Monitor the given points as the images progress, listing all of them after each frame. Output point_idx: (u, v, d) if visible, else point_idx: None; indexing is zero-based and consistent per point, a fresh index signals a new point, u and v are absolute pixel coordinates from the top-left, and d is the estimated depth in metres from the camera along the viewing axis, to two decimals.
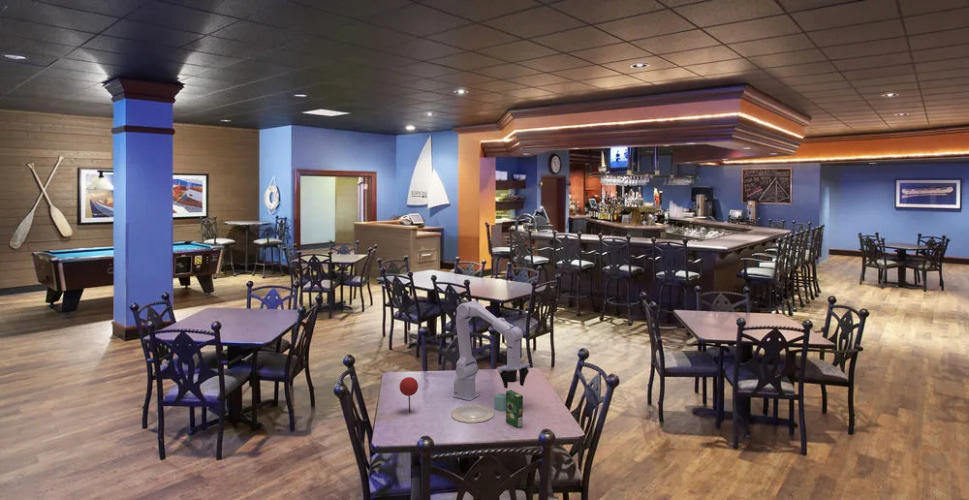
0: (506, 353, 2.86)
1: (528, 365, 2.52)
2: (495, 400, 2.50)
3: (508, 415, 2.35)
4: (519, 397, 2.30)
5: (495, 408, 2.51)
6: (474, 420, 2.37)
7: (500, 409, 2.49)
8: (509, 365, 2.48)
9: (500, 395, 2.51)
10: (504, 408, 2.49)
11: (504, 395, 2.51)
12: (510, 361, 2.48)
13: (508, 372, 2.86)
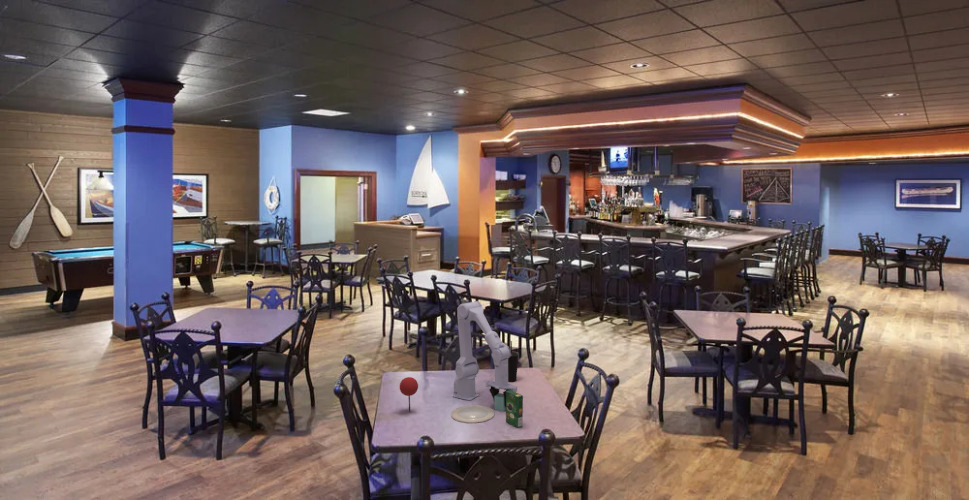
0: None
1: (513, 388, 2.46)
2: (495, 400, 2.50)
3: (508, 415, 2.35)
4: (519, 397, 2.30)
5: (495, 408, 2.51)
6: (474, 420, 2.37)
7: (500, 409, 2.49)
8: (494, 382, 2.51)
9: (500, 395, 2.51)
10: (504, 408, 2.49)
11: None
12: None
13: (508, 372, 2.86)
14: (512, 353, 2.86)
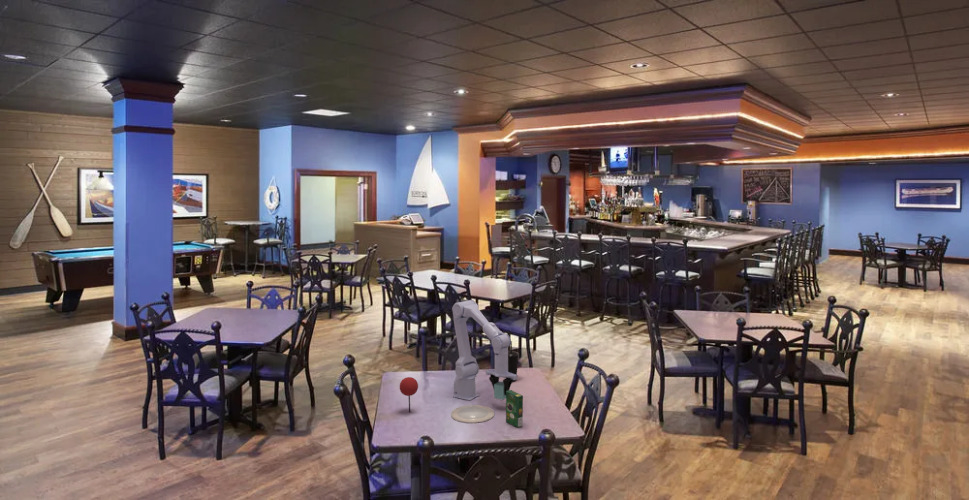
0: None
1: (513, 376, 2.46)
2: (495, 388, 2.50)
3: (508, 415, 2.35)
4: (519, 397, 2.30)
5: (495, 396, 2.50)
6: (474, 420, 2.37)
7: (500, 397, 2.49)
8: (494, 370, 2.51)
9: (500, 383, 2.51)
10: (504, 396, 2.49)
11: (503, 383, 2.51)
12: None
13: None
14: (512, 353, 2.86)
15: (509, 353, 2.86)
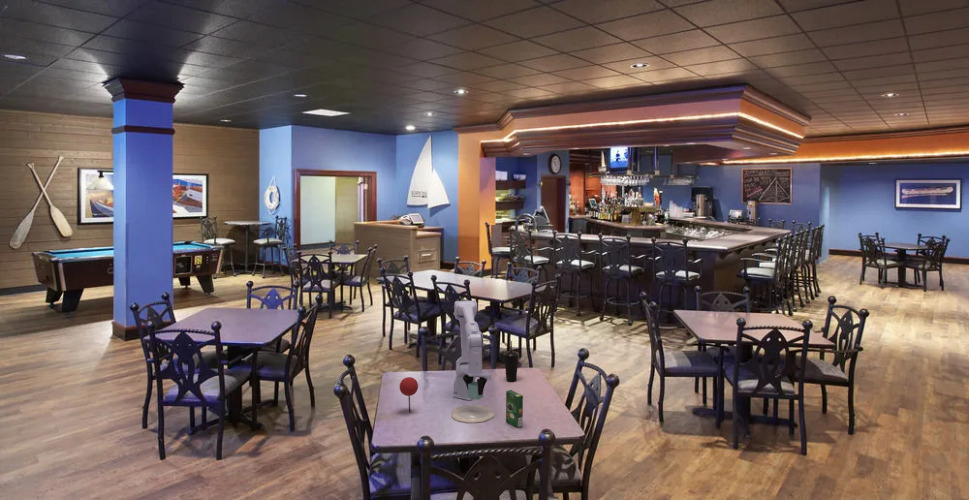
0: (506, 353, 2.86)
1: (487, 376, 2.40)
2: (469, 388, 2.44)
3: (508, 415, 2.35)
4: (519, 397, 2.30)
5: (469, 396, 2.44)
6: (474, 420, 2.37)
7: (474, 397, 2.43)
8: None
9: (474, 383, 2.45)
10: (478, 396, 2.43)
11: None
12: (468, 366, 2.44)
13: (508, 372, 2.86)
14: (512, 353, 2.86)
15: (509, 353, 2.86)
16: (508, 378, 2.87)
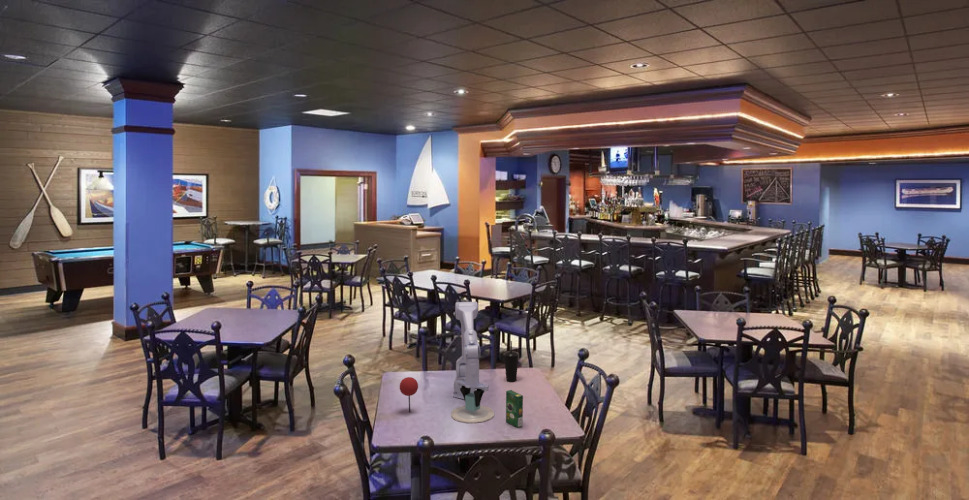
0: (506, 353, 2.86)
1: (484, 388, 2.40)
2: (466, 400, 2.44)
3: (508, 415, 2.35)
4: (519, 397, 2.30)
5: (466, 408, 2.44)
6: (474, 420, 2.37)
7: (471, 409, 2.43)
8: None
9: (472, 394, 2.45)
10: (475, 408, 2.43)
11: None
12: (465, 377, 2.44)
13: (508, 372, 2.86)
14: (512, 353, 2.86)
15: (509, 353, 2.86)
16: (508, 378, 2.87)
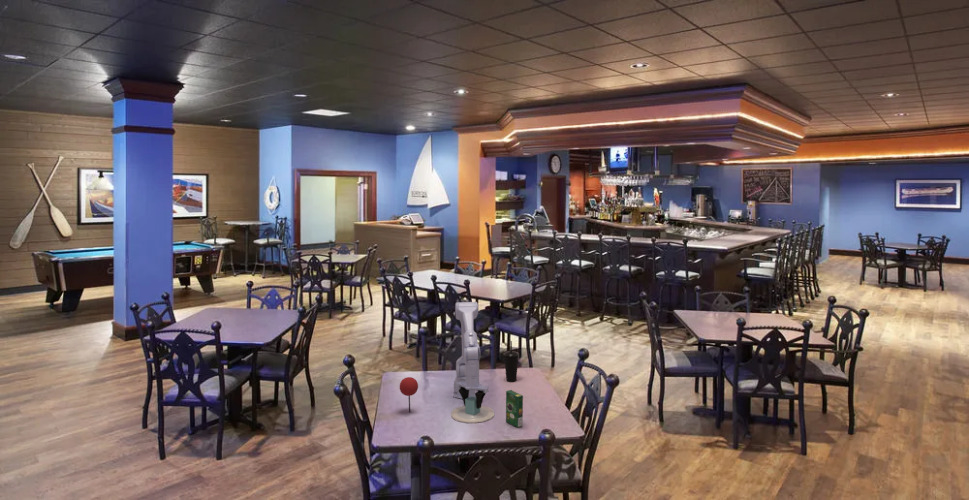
0: (506, 353, 2.86)
1: (484, 389, 2.40)
2: (466, 403, 2.44)
3: (508, 415, 2.35)
4: (519, 397, 2.30)
5: (466, 412, 2.44)
6: (474, 420, 2.37)
7: (471, 413, 2.43)
8: None
9: (472, 398, 2.45)
10: (475, 412, 2.43)
11: (475, 398, 2.45)
12: (465, 379, 2.44)
13: (508, 372, 2.86)
14: (512, 353, 2.86)
15: (509, 353, 2.86)
16: (508, 378, 2.87)
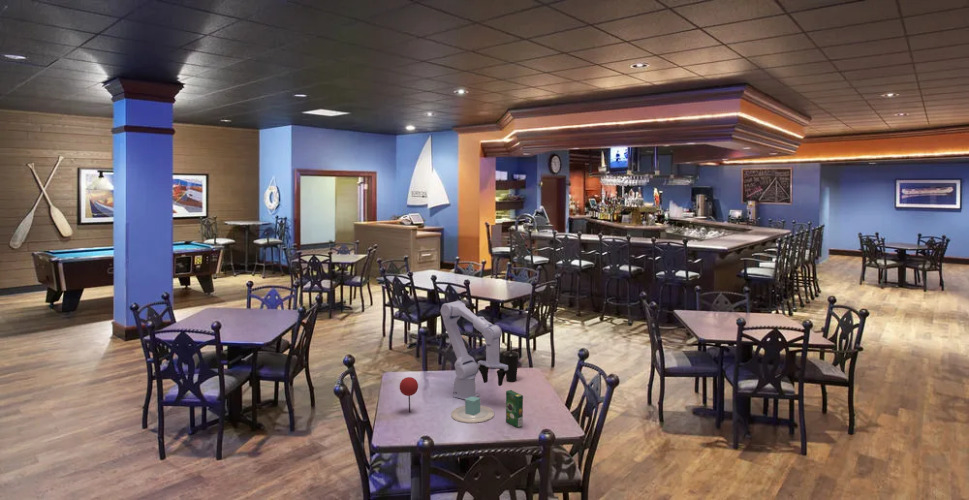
0: (506, 353, 2.86)
1: (504, 367, 2.51)
2: (466, 403, 2.44)
3: (508, 415, 2.35)
4: (519, 397, 2.30)
5: (466, 412, 2.44)
6: (474, 420, 2.37)
7: (471, 413, 2.43)
8: None
9: (472, 398, 2.45)
10: (475, 412, 2.43)
11: (475, 398, 2.45)
12: (486, 357, 2.55)
13: (508, 372, 2.86)
14: (512, 353, 2.86)
15: (509, 353, 2.86)
16: (508, 378, 2.87)
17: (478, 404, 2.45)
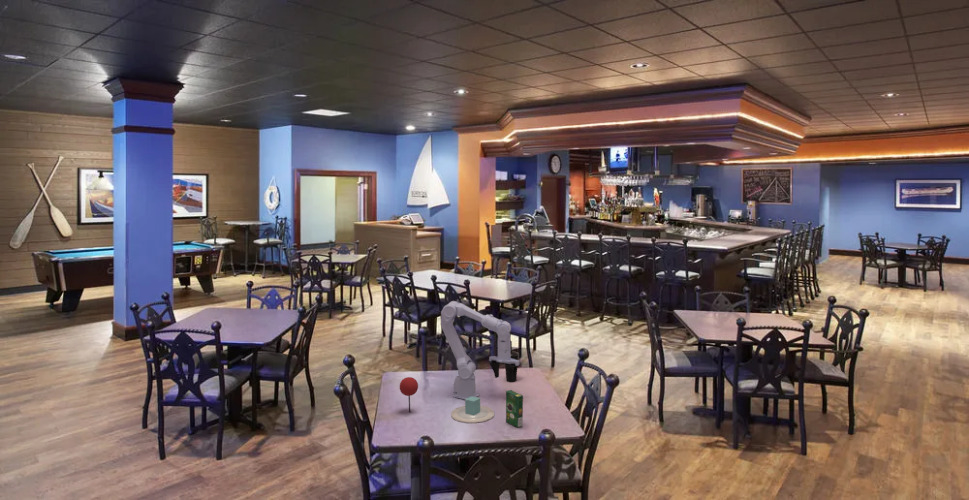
0: None
1: (515, 362, 2.58)
2: (466, 403, 2.44)
3: (508, 415, 2.35)
4: (519, 397, 2.30)
5: (466, 412, 2.44)
6: (474, 420, 2.37)
7: (471, 413, 2.43)
8: None
9: (472, 398, 2.45)
10: (475, 412, 2.43)
11: (475, 398, 2.45)
12: None
13: (508, 372, 2.86)
14: (512, 353, 2.86)
15: None
16: (508, 378, 2.87)
17: (478, 404, 2.45)
